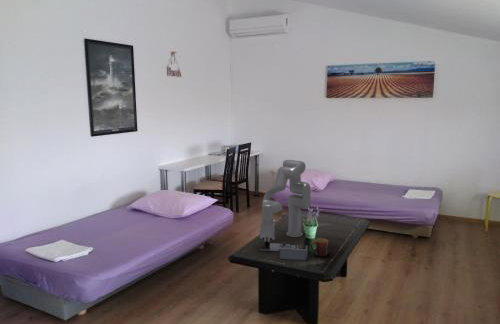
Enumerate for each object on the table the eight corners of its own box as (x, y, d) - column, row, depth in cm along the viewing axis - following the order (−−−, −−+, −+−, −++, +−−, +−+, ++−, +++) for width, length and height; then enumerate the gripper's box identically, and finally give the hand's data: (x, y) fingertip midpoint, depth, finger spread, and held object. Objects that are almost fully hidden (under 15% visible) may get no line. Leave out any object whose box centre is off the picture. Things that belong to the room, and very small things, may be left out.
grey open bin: (280, 252, 273) (280, 242, 272) (307, 253, 270) (307, 244, 268) (278, 258, 262) (278, 248, 260) (306, 260, 258) (306, 250, 257)
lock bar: (270, 249, 276) (270, 241, 275) (289, 250, 274) (289, 242, 273) (269, 250, 274) (269, 242, 274) (289, 251, 272) (289, 243, 271)
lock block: (289, 253, 271) (289, 244, 270) (297, 253, 270) (298, 245, 269) (288, 257, 263) (288, 249, 262) (297, 258, 262) (297, 249, 261)
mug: (324, 252, 273) (325, 238, 271) (329, 257, 264) (330, 242, 262) (308, 253, 270) (308, 239, 269) (312, 258, 262) (313, 243, 260)
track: (259, 248, 278) (259, 248, 278) (280, 250, 276) (280, 250, 276) (259, 250, 275) (259, 250, 275) (279, 251, 273) (279, 251, 273)
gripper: (278, 220, 275) (278, 245, 278) (257, 219, 277) (257, 244, 280) (277, 223, 267) (277, 249, 270) (255, 222, 270) (255, 248, 273)
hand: (267, 246), depth 275 cm, fingers closed
